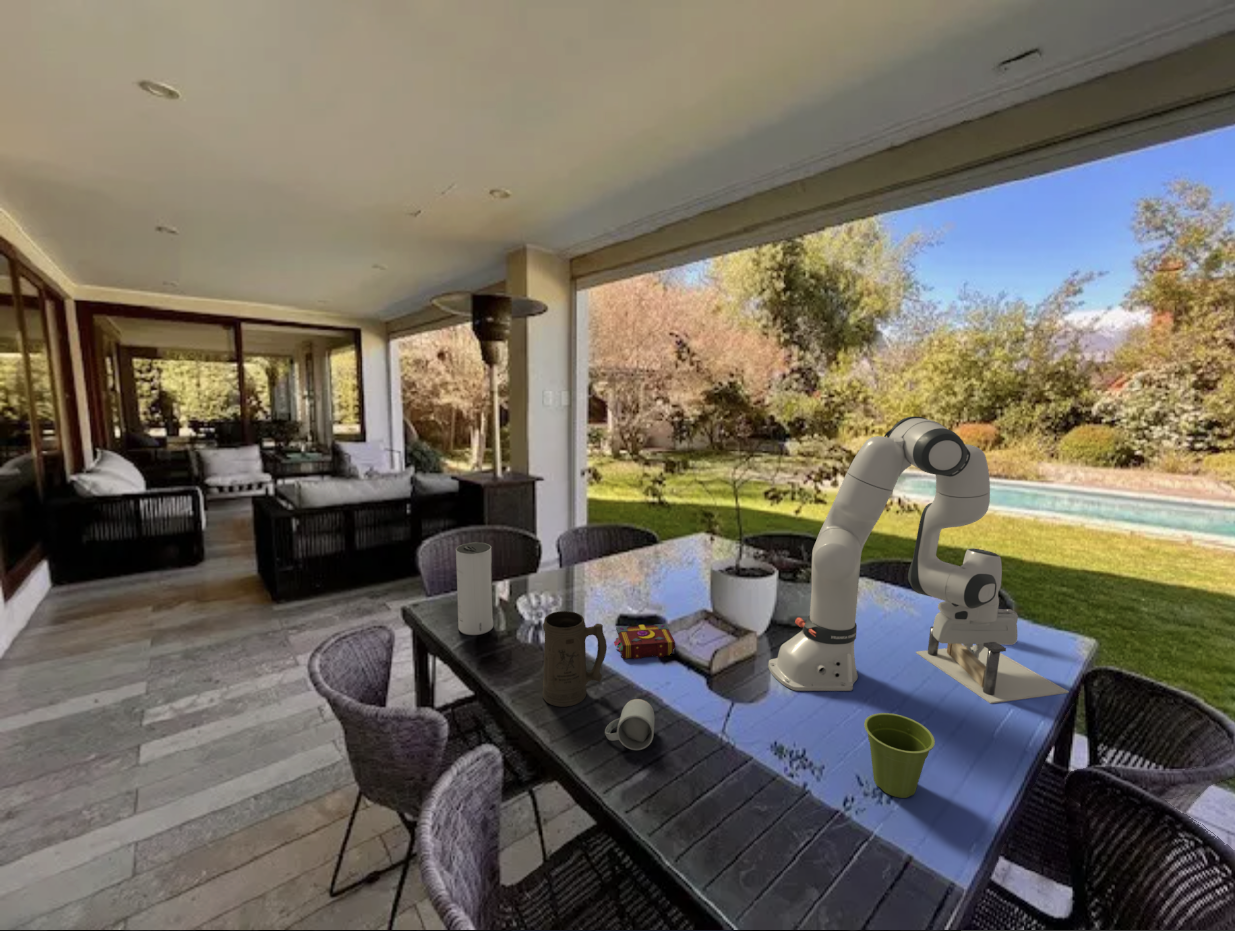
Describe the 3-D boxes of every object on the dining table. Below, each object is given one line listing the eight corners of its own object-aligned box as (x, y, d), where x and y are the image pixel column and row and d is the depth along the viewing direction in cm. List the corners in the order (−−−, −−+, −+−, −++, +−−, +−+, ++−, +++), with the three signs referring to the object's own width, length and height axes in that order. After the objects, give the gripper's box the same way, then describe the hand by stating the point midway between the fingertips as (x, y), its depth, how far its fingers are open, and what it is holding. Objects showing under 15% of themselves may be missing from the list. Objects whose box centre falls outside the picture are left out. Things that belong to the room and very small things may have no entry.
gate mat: (990, 703, 131) (990, 702, 131) (915, 652, 155) (915, 651, 155) (1068, 692, 136) (1068, 691, 136) (984, 645, 160) (984, 644, 160)
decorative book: (675, 656, 152) (676, 640, 152) (618, 661, 150) (618, 644, 149) (665, 637, 163) (666, 621, 163) (612, 641, 161) (612, 625, 160)
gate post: (988, 698, 134) (995, 649, 131) (977, 690, 137) (983, 642, 134) (999, 696, 134) (1006, 648, 132) (988, 689, 137) (994, 641, 135)
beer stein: (542, 710, 127) (547, 629, 124) (536, 685, 137) (540, 609, 134) (606, 705, 131) (612, 626, 128) (596, 680, 142) (601, 607, 138)
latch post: (931, 657, 152) (934, 630, 151) (925, 653, 155) (928, 626, 153) (939, 656, 153) (942, 630, 152) (932, 652, 155) (935, 626, 154)
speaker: (496, 632, 165) (493, 549, 161) (460, 638, 161) (456, 553, 157) (490, 618, 175) (488, 539, 170) (456, 623, 171) (453, 542, 167)
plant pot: (906, 762, 111) (911, 711, 109) (942, 808, 100) (949, 752, 98) (848, 763, 111) (853, 712, 109) (878, 809, 99) (883, 753, 97)
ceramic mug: (655, 727, 122) (655, 695, 120) (653, 752, 114) (653, 718, 112) (607, 724, 123) (607, 692, 122) (602, 748, 115) (602, 715, 114)
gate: (989, 687, 137) (992, 665, 136) (980, 687, 137) (983, 664, 136) (954, 652, 154) (956, 632, 153) (946, 652, 154) (948, 632, 153)
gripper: (1010, 604, 147) (1004, 652, 150) (932, 603, 148) (927, 650, 151) (1026, 614, 141) (1020, 664, 143) (944, 613, 142) (939, 662, 144)
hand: (972, 657), depth 147 cm, fingers closed
